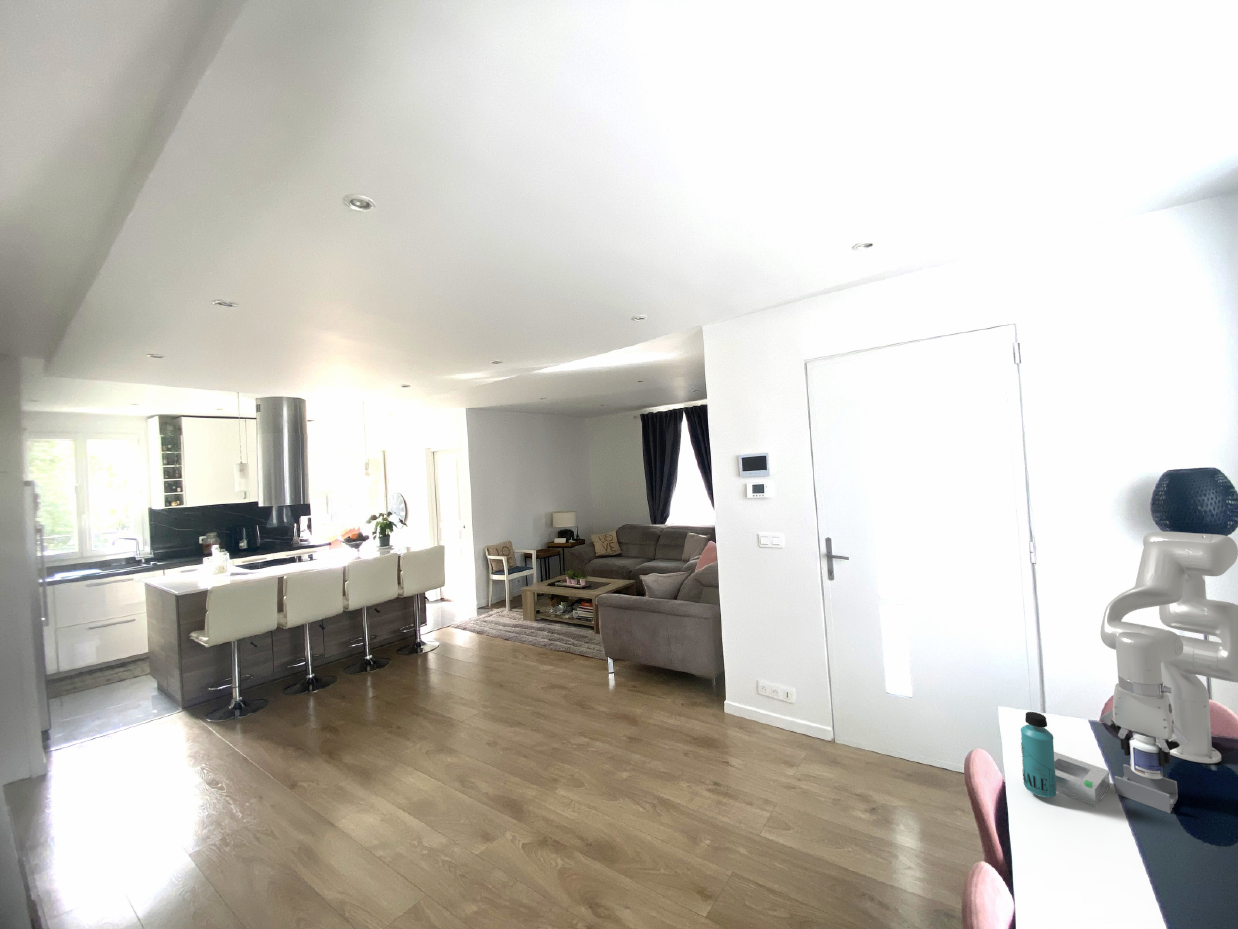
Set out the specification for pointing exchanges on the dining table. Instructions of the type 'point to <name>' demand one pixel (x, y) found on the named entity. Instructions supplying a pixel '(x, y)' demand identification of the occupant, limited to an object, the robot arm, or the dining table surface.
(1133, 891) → the dining table surface
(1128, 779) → the grey open frame
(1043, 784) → the beverage bottle
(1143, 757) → the pill bottle
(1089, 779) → the port
